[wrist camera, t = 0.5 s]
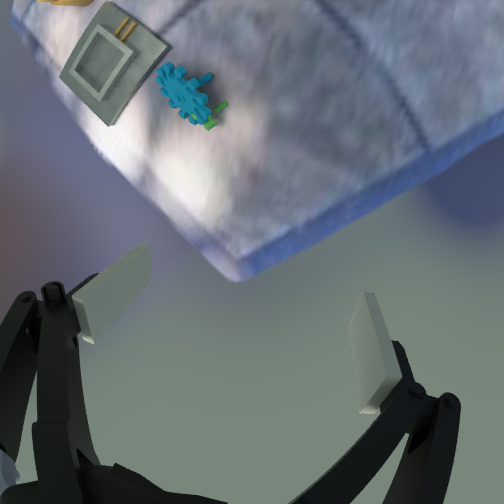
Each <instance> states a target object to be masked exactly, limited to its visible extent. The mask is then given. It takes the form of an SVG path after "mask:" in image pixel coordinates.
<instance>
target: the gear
mask: <svg viewBox="0 0 504 504" xmlns="http://www.w3.org/2000/svg"><path fill="white" fill-rule="evenodd" d="M156 71H157V73H158V74H159V75H160V76H158V77H157V78H156V81H157V83H158V84H160V85H162V86H163V88H161V89H160V91H161V94H162V95H163V96H167V97H169V98H170V99H171V100H170V101H169V102H168V103H169V105H170V106H171V108H175V107H179V108H180V109H181V111H180V112H178V114H179V115H180V116H181V117H182V118H183V119H185V118H186V117H187V116H189V115H190V118H189V121H190V122H191V123H192V124H193V125H196V124H197V123H199V124H201V125H204V127H205V129H206V130H208V131H209V130H210V129H212V128H213V127H214V126H215V125H217V123H216V121H215V120H214V119H215V118H216V117H217V114H216V113H217V112H219V111H220V110H221V109H223V108H224V107H225V106H227V103H226V102H225V101H224V102H222V103H221V104H219V105H218V106H217V107H215V108H214V109H213V108H212V107H211V105H210V104H209V103H208V102H209V100H208V96H207V95H206V94H204V93H200V91H199V90H198V89H197V88H199V87H200V86H202V85H203V84H205V83H206V82H208V81H210V80H211V79H213V76H212V75H211V74H210V73H208V74H206V75H204V76H203V77H201V78H200V79H198V80H197V79H196V78H192V79H190V80H189V81H186V80H184V78H183V77H182V76H184V75H186V74H187V71H186V70H185V69H184V68H183V67H182V66H179V67H177V68H176V69H175V66H174V64H172V63H170V62H167V63H166V64H164V65H163V66H162V67H160V68H159V69H157V70H156ZM174 72H175V74H174ZM206 122H207V123H206Z"/></svg>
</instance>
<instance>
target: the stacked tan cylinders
mask: <svg viewBox="0 0 504 504" xmlns="http://www.w3.org/2000/svg"><path fill="white" fill-rule="evenodd" d="M92 1H93V0H37V2H50V3H51V5H66V6H87V5H89V4H90V3H91V2H92Z"/></svg>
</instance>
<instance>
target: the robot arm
mask: <svg viewBox="0 0 504 504" xmlns="http://www.w3.org/2000/svg"><path fill="white" fill-rule="evenodd" d="M150 248H151V247H150V245H147V244H142V243H140V244H138V245H137V246H136V247H134V248H133V249H132V250H130V251H129V252H127V253H126V254H125V255H123V256H122V257H120V258H119V259H118V260H116V261H115V262H114V263H113V264H111V265H110V266H109V267H107V268H106V269H105V270H103V271H102V272H101V273H100V274H99V273H96V274H93V275H91V276H89V277H88V278H86V279H85V280H84V282H81V283H80V284H79V285H77V287H75V288H74V289H72V290H71V291H70V292H69V293H67V294H65V290H64V286H63V284H62V283H61V282H58V281H53V282H49V283H47V284H45V285H44V286H43V287H42V288H41V293H42V296H43V300H44V301H40V300H37V297H36V294H35V293H34V292H33V291H25V292H22V293H21V294H19V296H17V298H16V299H15V301H14V303H13V304H12V306H11V308H10V310H9V311H8V313H7V314H6V316H5V318H4V320H3V322H2V323H1V325H0V504H227V502H223V501H218V500H214V499H210V498H207V497H202V496H199V495H190V494H180V493H172V492H167V491H164V490H162V489H161V488H159V487H158V486H156V485H154V484H153V483H152V482H150V481H149V480H147V479H146V478H145V477H143V476H142V475H140V474H138V473H136V472H134V471H131V470H129V469H127V468H125V467H123V466H121V465H119V464H117V463H115V464H114V466H113V467H112V466H105V465H101V464H100V462H99V459H98V457H97V455H96V453H95V451H94V448H93V444H92V440H91V435H90V430H89V425H88V420H87V415H86V409H85V403H84V396H83V389H82V380H81V371H80V358H79V342H78V337H77V334H78V333H79V332H80V331H81V333H82V336H83V339H84V340H86V341H88V342H90V343H92V344H95V343H96V342H97V341H98V340H99V339H100V338H101V337H102V335H103V334H104V333H105V332H106V331H107V330H108V329H109V328H110V326H111V325H112V324H113V323H114V322H115V321H116V320H117V319H118V318H119V316H120V315H121V314H122V313H123V312H124V311H125V310H126V309H127V308H128V307H129V306H130V305H131V303H133V302H134V301H135V300H136V298H137V297H138V296H139V295H140V294H141V293H142V292H143V291H144V290H145V289H146V288H147V287H148V286H149V285H150V284H151V255H150V254H151V253H150V252H151V251H150ZM26 330H27V332H26ZM348 330H349V335H350V342H351V349H352V355H353V362H354V370H355V378H356V385H357V395H358V404H359V413H363V414H364V413H365V414H374V413H375V412H376V410H377V409H378V408H379V407H380V412H381V414H380V415H379V416H378V417H377V419H376V420H375V421H374V422H373V423H372V424H371V426H370V427H369V428H368V429H367V430H366V432H365V433H364V434H363V435H362V436H361V437H360V438H359V439H358V441H357V442H356V443H355V444H354V445H353V446H352V447H351V448H350V449H349V450H348V451H347V452H346V453H345V454H344V455H343V456H342V457H341V458H340V459H339V460H338V461H337V462H336V463H335V464H334V465H333V466H332V467H331V468H330V469H329V470H328V471H327V472H326V473H325V474H324V475H322V476H321V477H320V478H319V479H318V480H317V481H315V482H314V483H313V484H312V485H311V486H310V487H308V488H307V489H306V490H305V491H304V492H302V493H301V494H300V495H299V496H297V497H296V498H295V499H293V500H292V501H291V502H290V503H288V504H350V503H351V502H352V501H353V500H354V498H355V497H356V496H357V495H358V494H359V493H360V492H361V491H362V490H363V489H364V488H365V486H366V485H367V484H368V483H369V482H370V480H371V479H372V478H373V477H374V476H375V475H376V473H377V472H378V471H379V470H380V468H381V467H382V466H383V464H384V463H385V462H386V460H387V459H388V458H389V456H390V455H391V454H392V452H393V451H394V450H395V448H396V447H397V445H398V444H399V442H400V441H401V439H402V438H403V436H404V435H405V433H409V437H408V440H407V443H406V446H405V449H404V452H403V455H402V458H401V461H400V463H399V466H398V469H397V471H396V474H395V476H394V478H393V481H392V483H391V486H390V488H389V490H388V492H387V495H386V497H385V499H384V501H383V503H382V504H443V501H444V498H445V494H446V491H447V487H448V484H449V479H450V475H451V471H452V466H453V462H454V456H455V451H456V444H457V438H458V431H459V422H460V411H461V404H460V401H459V399H458V398H457V397H456V396H455V395H454V394H452V393H448V392H447V393H444V394H443V395H441V396H440V397H439V398H435V397H432V396H429V395H427V394H426V391H425V389H424V387H423V386H422V385H420V384H419V383H417V382H415V380H414V377H413V374H412V371H411V367H410V364H409V363H408V359H407V357H406V353H405V350H404V348H403V346H402V345H401V344H400V343H399V342H398V341H392V340H391V338H390V335H389V332H388V329H387V326H386V324H385V321H384V318H383V315H382V312H381V310H380V307H379V304H378V302H377V299H376V296H375V294H374V293H371V292H366V291H363V292H362V294H361V297H360V300H359V302H358V305H357V307H356V309H355V312H354V315H353V317H352V319H351V321H350V324H349V326H348ZM36 371H37V417H38V418H37V422H34V423H33V424H32V440H33V450H34V458H35V464H36V471H37V476H38V480H37V481H33V482H28V483H23V484H17V485H16V481H18V480H19V478H20V475H19V472H18V471H17V470H16V466H15V462H16V459H17V456H18V452H19V447H20V442H21V435H22V430H23V424H24V419H25V414H26V410H27V405H28V401H29V396H30V393H31V389H32V385H33V382H34V378H35V375H36Z"/></svg>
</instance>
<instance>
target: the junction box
mask: <svg viewBox="0 0 504 504" xmlns="http://www.w3.org/2000/svg"><path fill="white" fill-rule="evenodd" d="M170 49H171V46H170V45H168V44H167V43H166V42H165V41H163V40H162V39H161V38H160V37H158V36H157V35H156V34H155V33H153V32H152V31H151V30H149V29H148V28H147V27H145V26H144V25H143V24H141V23H140V22H139V21H137V20H136V19H135V18H133V17H132V16H131V15H129V14H128V13H126V12H125V11H123V10H122V9H121V8H119V7H118V6H116V5H115V4H113V3H112V2H107V1H105V2H104V4H103V5H102V6H101V8H100V9H99V11H98V12H97V13H96V15H95V16H94V18H93V19H92V21H91V22H90V24H89V25H88V27H87V28H86V30H85V31H84V33H83V34H82V36H81V38H80V39H79V41H78V43H77V44H76V46H75V48H74V50H73V51H72V53H71V55H70V57H69V59H68V60H67V62H66V64H65V66H64V68H63V70H62V72H61V74H60V76H59V78H60V79H61V80H62V81H63V82H64V83H65V84H66V85H67V86H68V87H69V88H70V89H71V90H72V91H73V92H74V93H75V94H76V95H77V96H78V97H79V98H80V99H81V100H82V101H83V102H84V103H85V104H86V105H87V106H88V107H89V108H90V109H91V110H92V111H93V112H94V113H95V114H96V115H97V116H98V117H99V118H100V119H101V120H102V121H103V122H104V123H105V124H106V125H107V126H108V127H109V126H112V125H114V123H115V122H116V120H117V119H118V117H119V116H120V114H121V112H122V111H123V109H124V108H125V106H126V105H127V104H128V102H129V101H130V99H131V98H132V96H133V95H134V94H135V92H136V91H137V89H138V88H139V87H140V85H141V84H142V83H143V81H144V80H145V79H146V78H147V76H148V75H149V74H150V72H151V71H152V70H153V69H154V67H155V66H156V65H157V64H158V63H159V61H160V60H161V59H162V58H163V57H164V55H165V54H166V53H167V52H168V51H169V50H170Z"/></svg>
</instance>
